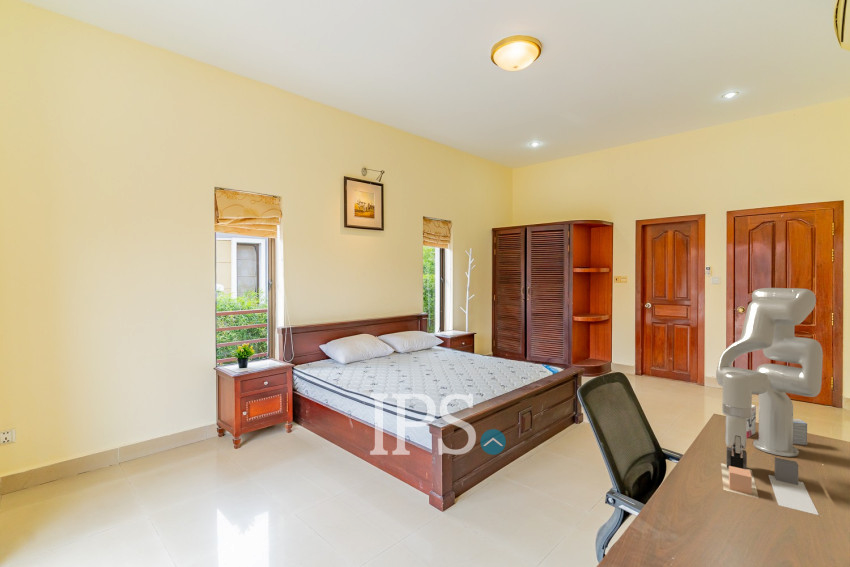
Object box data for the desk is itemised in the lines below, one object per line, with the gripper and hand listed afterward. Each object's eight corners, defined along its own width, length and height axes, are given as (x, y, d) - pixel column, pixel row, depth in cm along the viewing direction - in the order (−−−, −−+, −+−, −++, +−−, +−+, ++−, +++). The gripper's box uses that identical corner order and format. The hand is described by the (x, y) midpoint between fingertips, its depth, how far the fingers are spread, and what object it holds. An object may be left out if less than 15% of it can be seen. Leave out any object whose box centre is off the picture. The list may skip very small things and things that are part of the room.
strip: (768, 478, 124) (768, 456, 124) (802, 486, 120) (803, 462, 119) (778, 509, 108) (778, 483, 108) (818, 519, 103) (819, 492, 103)
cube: (728, 481, 120) (728, 465, 120) (749, 486, 117) (749, 470, 117) (729, 489, 116) (729, 472, 116) (751, 494, 113) (751, 477, 113)
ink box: (748, 438, 155) (748, 408, 155) (733, 434, 159) (733, 405, 159) (756, 433, 160) (756, 404, 159) (741, 429, 164) (741, 401, 164)
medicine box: (800, 441, 152) (800, 419, 152) (807, 445, 148) (807, 423, 148) (775, 438, 155) (775, 416, 154) (781, 443, 150) (781, 420, 150)
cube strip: (720, 466, 132) (721, 445, 132) (751, 473, 127) (751, 451, 127) (723, 493, 116) (723, 469, 116) (758, 502, 111) (759, 477, 111)
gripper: (721, 401, 137) (721, 453, 137) (723, 415, 124) (723, 473, 124) (749, 405, 133) (748, 459, 133) (754, 420, 119) (753, 480, 120)
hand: (736, 465), depth 128 cm, fingers closed on cube strip, 3 cm apart
